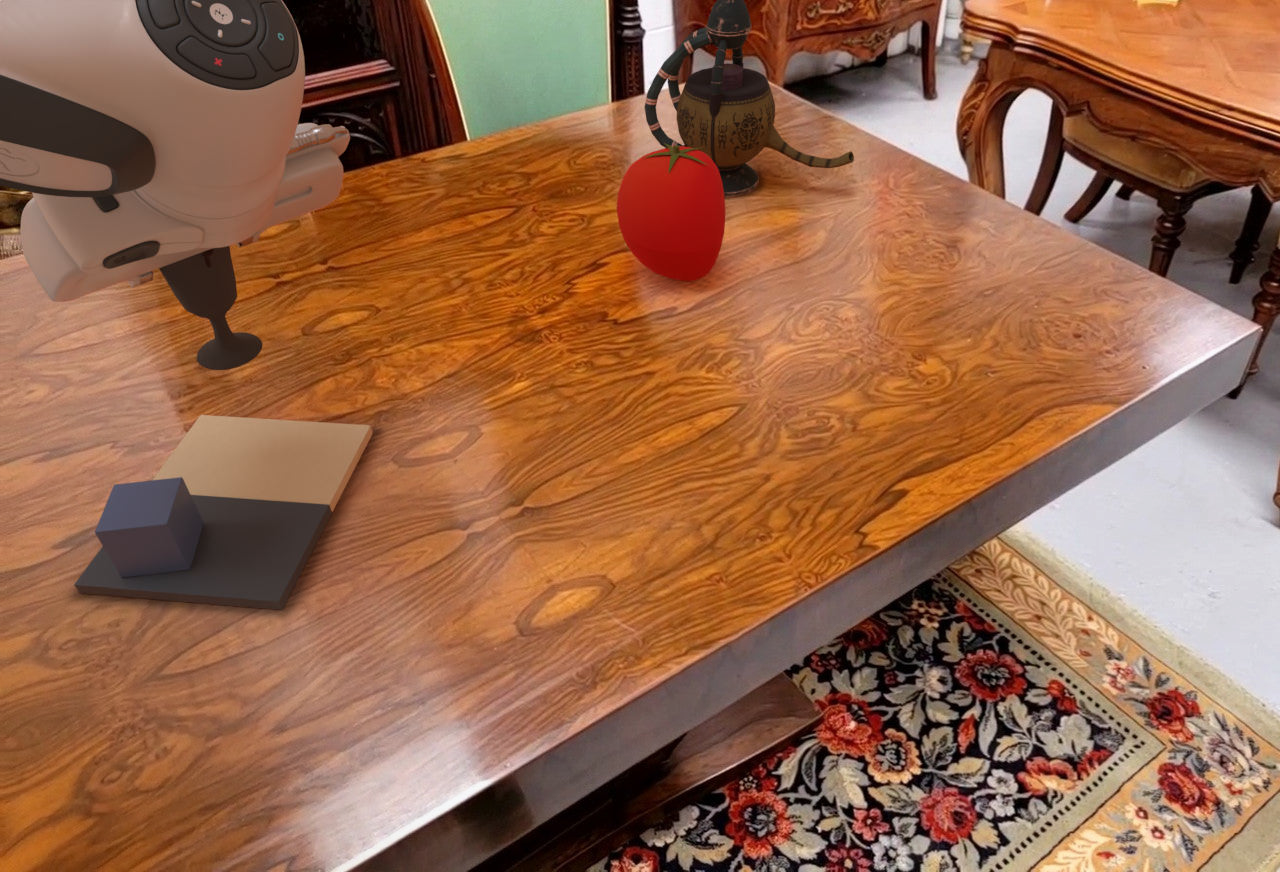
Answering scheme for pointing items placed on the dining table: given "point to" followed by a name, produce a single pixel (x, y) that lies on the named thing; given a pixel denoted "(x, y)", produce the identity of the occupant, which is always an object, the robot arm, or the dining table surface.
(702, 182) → the tomato
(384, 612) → the dining table surface
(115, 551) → the blue block
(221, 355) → the sundae
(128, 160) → the robot arm
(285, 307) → the dining table surface
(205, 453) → the board
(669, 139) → the teapot
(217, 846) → the dining table surface
